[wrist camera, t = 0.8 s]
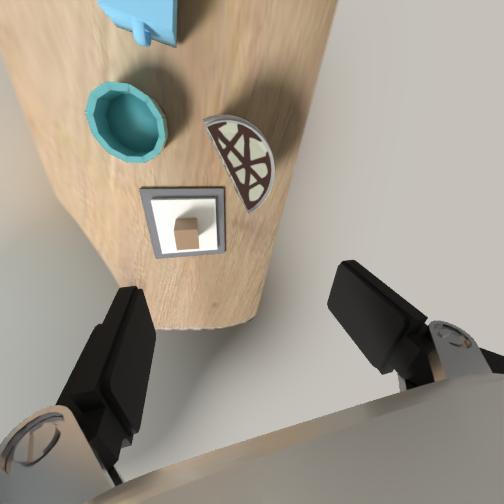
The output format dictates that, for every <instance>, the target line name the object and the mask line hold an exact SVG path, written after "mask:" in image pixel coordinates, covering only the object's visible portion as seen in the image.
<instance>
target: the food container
mask: <svg viewBox="0 0 504 504" xmlns="http://www.w3.org/2000/svg"><path fill="white" fill-rule="evenodd" d="M203 122H204V123H205V125H206V132H207V134H208V136H209V138H210V140H211V142H212V144H213V146H214V148H215V150H216V152H217V154H218V156H219V158H220V160H221V162H222V164H223V166H224V168H225V170H226V172H227V174H228V176H229V178H230V180H231V182H232V184H233V186H234V188H235V190H236V192H237V194H238V195H239V197H240V199H241V201H242V202H243V204H244V206H245V208H246V209H247V212H248V213H249V214H251V213H252V212H254V211H255V210H257V209H258V208H259V207H260V206H261V205H262V204H263V203H264V201H265V200H266V198H267V197H268V195H269V193H270V191H271V189H272V186H273V183H274V177H275V161H274V156H273V152H272V150H271V147H270V145H269V143H268V141H267V140H266V138H265V136H264V135H263V134H262V132H261V131H260V130H259V129H258V128H257V127H256V126H254V125H253V124H252V123H251V122H249V121H247V120H245V119H243V118H241V117H238V116H234V115H228V114H224V115H215V116H210V117H208V118H205V119H203Z"/></svg>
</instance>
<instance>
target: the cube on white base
mask: <svg viewBox="0 0 504 504" xmlns="http://www.w3.org/2000/svg"><path fill="white" fill-rule="evenodd" d="M151 204H152V208H153V213H154V218H155V222H156V227H157V232H158V236H159V241H160V246H161V250H162V254H167V253H180V252H193V251H206V250H217V228H216V204H215V198H166V199H151Z"/></svg>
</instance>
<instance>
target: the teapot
mask: <svg viewBox="0 0 504 504" xmlns="http://www.w3.org/2000/svg"><path fill="white" fill-rule="evenodd" d="M98 5H99V6H100V7H101V8H102V10H103V11H104V12H105V13H106V14H107V16H108V17H109V18H110V19H111V20H112V22H113V23H114V24H115V25H116V26H117V27H119V28H122V29H125V30H127V31H130V32H133V35H134V39H135V41H136V43H137V44H139V45H141V46H146V47H149V46H150V45H151V39H152V40H155V41H158V42H161V43H163V44H166V45H169V46H172V47H175V48H176V42H177V10H178V0H98Z"/></svg>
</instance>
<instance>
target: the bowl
mask: <svg viewBox="0 0 504 504" xmlns="http://www.w3.org/2000/svg"><path fill="white" fill-rule="evenodd" d="M85 112H86V113H85V114H86V117H87V120H88V123H89V126H90V130H91V133H92V134H94V135H93V136H94V137H95V139H96V140H97V141H98V142H99V143H100V144H101V146H102V147H103V148H104V149H105V150H106V151H107V152H108V153H109V154H111V155H113V156H115V157H117V158H119V159H121V160H123V161H125V162H132V163H145V162H147V161H149V160H150V159H152V158H154V157H155V156H157V155H158V154H159V153H160V152H161V151H162V150H163V149H164V146H165V144H166V141H167V139H168V135H169V134H168V127H167V120H166V117H165V115H164V114H163V112H162V110H161V109H160V107H159V106H158V104H157V103H156V101H155V100H154V99H152V98H151V97H150V96H148V95H147V94H145V93H144V92H142V91H141V90H139V89H138V88H136V87H134V86H132V85H130V84H128V83H118V82H108V81H107V82H105V83H103V84H102V85H100V86H99V87H97V88H96V89H94V90H93V91H91V93H90V95H89V99H88V103H87V107H86V111H85Z"/></svg>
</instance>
